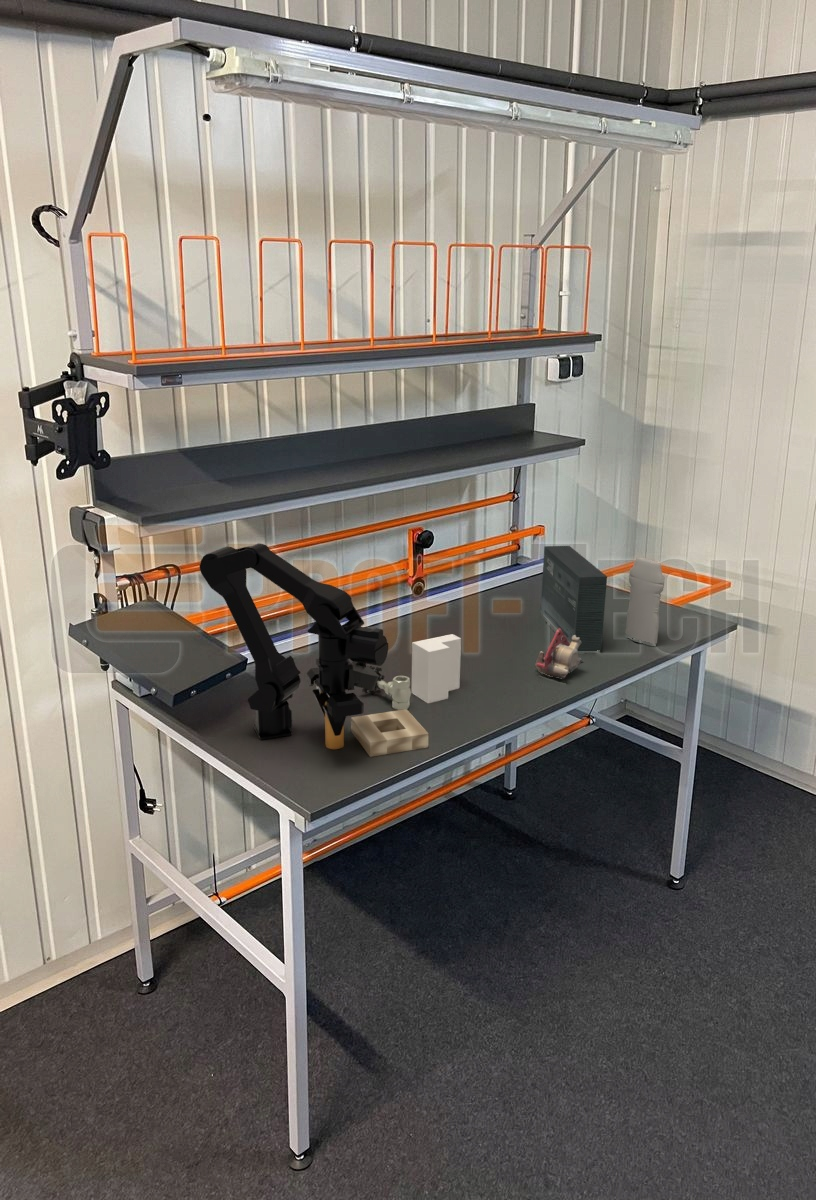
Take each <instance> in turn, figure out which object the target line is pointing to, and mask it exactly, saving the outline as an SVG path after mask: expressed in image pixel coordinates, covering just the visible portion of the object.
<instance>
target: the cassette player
mask: <svg viewBox="0 0 816 1200" xmlns="http://www.w3.org/2000/svg"><path fill="white" fill-rule="evenodd" d="M542 564H543V565H542V580H541V581H542V582H541V597H540V599H541V601H540V610H539V611H540V612H541V613H542V614H543V616H544V617H545V618H546V619H547V621H548V622H549V623H550V624H551V625H552V626H553V627H554V629H555V630H556V631H557V629H559V628H560V629H561V630H562V632H563V633H564V635H565V636H566V638H567V640H568V642H569V643H571V642H572V637H573V635H576V637H577V638H578V637H579V638H580V639H579V640H580V641H581V642H582V643H581V644H580V646H579V648H578V651H597V650H601V651H602V645H603V643H602V642H603V634H604V631H603V630H604V619H605V609H606V606H605V605H606V597H607V584H608V583H607V582H608V581H607V580H608V576H607V575H606V574H605V573H604V572H602V571H601V570H600V569H599V568H597V566H595V565H593V563H591V562H590V561H589V560H588V559H586V558H585V557H584V556H583V555H581V553H579V552H578V551H577V550H575V549H574V548H573V547H571V546H570V545H549V546H547V545H544V546H543V563H542ZM540 612H539V613H540Z"/></svg>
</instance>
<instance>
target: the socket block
mask: <svg viewBox="0 0 816 1200" xmlns="http://www.w3.org/2000/svg"><path fill="white" fill-rule="evenodd" d="M350 731H351V733H352V734H353V736H354V737H355V738H356V740H357V741H358V742H359V744H360V745H361V747H362V748H363V749H364V751H365V752H366V753H367V755H368V756H369V757H370V758H372V757H377V756H385V755H390V754H396V753H397V754H398V753H402V752H409V751H415V750H421V749H426V748H429V732H428V731H427V730H426V729H425V728H424V727H423V726H422V725H421V723H420V722H419V721H418V720H417V719H416V718H415V717H414V716H413V714H412V713H410V711H409V710H408V709H404V710H397V709H396V710H393V711H386V712H380V713H371V714H365V715H358V716H357V715H356V716H352V717H351V716H350Z"/></svg>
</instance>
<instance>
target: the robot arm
mask: <svg viewBox="0 0 816 1200" xmlns="http://www.w3.org/2000/svg"><path fill="white" fill-rule="evenodd" d="M247 569H252V570H254V571H255V572H257V574H260V575H262V576H263V577H264V578H266V579H267V580H269V581H270V582H271V583H273V584H274V585H276V586H277V587H278V588H280V589H281V590H283V591H284V592H286V593H287V594H289V595H290V596H292V597H293V598H295V599H296V600H297V601H299V602H300V603H301V604H302V606H303V608H304V610H305V612H306V614H308V616H310V617H311V618H312V619H313V621H315V622H314V624H313V625H312V626H311V627H310V628H308V629H307V633H308V634H313V635H317V639H318V642H317V643H318V645H317V646H318V658H315V665H316V666H317V667H313V668H312V667H311V668H310V669H309V670H308V671H307V672H306V683H307V685H309V687H314V684H315V685H316V686H315V687H316V688H315V689H312V694H313V696H314V698H315V700H316V702H317V704H318V707H319V708H320V710H321V713H322V714H323V717H324V718H325V713H326V715H327V718H328V720H329V723H330V725H331V728H332V730H333V733H334V735H335V736H338V735H340V734H341V731H342V728H343V725H344V724H345V722H346V718H347V717H351V716H357V715H358V716H359V715H362V714H363V713H365V712H364V711H365V709H364V707H365V703H364V702H363V701H362V699H361V698H360V696H358V695H357V694H355V692H346V690H347V691H353V690H355V687H357V688H362V689H363V688H365V689H368V690H367V691H369V690H370V691H373V690H374V687H375V685H376V682H377V679H378V674H377V673H376V672H375V671H374V670H375V669H374V670H373V669H371V668H370V666H377V667H380V666H383V664H384V663H385V662H386V659H387V657H388V652H389V643H388V640H387V637H386V636H385V635H384V630H383V629H382V628H370V627H363V625H365V621H364V619H363V618H362V616H361V615H360V614H359V612H358V611H357V609H356V608H355V606H354V604H353V602H352V597H351V595H350V594H349V593H348V592H346V591H345V590H342V589H340V588H338V587H336V586H334V585H332V584H327V583H324V582H323V583H322V582H319V581H317V580H315V579H313V578H312V577H310V576H309V575H307V574H306V573H304V572H303V571H301V569H298V568H297V567H296V566H294V565H292V564H291V563H290V562H288V561H287V560H285V559H283V557H281V556H279V555H278V554H276V553H275V552H274V551H272V550H271V549H270V548H269V546H268V545H267V544H265V543H260V542H259V543H256V544H253V545H250V546H243V547H239V548H234V547H232V546H223V547H222V548H219V549H216V550H214V551H210V552H209V553H206V554H205V555H203V556H202V558H201V560H200V563H199V571H200V573H201V576H202V577H203V578H204V580H205V581H206V583H207V584H208V586H209V587H210V588H211V589H212V590H213V591H214V592H216V593H217V594H218V595H220V596H221V597H222V598H223V600H224V602H225V604H226V606H227V608H228V610H229V612H230V613H231V614H230V615H231V616H232V618H233V620H234V622H235V624H236V627H237V629H238V630H239V632H240V634H241V636H242V638H243V641H244V643H245V645H246V647H247V649H248V651H249V653H250V655H251V657H252V660H253V662H254V665H255V666H254V668H255V669H254V681H255V683H256V686H257V689H258V690H256V691H255V692H254V693H253V694H252V695H250V696H249V697H248V699H247V702H248V704H249V708H250V709H251V710H254V712H255V713H254V714H255V718H254V719H255V724H253V729H254V730H255V733H256V735H257V736H258V738H259V739H260V740H267V739H274V738H275V739H276V738H280V737H289V736H291V735H293V734H292V733H293V732H292V730H291V729H292V728H293V716H292V715H293V713H292V712H293V711H292V709H291V707H290V704H289V702H288V700H290V699H292V698H293V696H294V693H295V692H297V691H298V689H299V688H300V686H301V685H300V684H301V683H302V682H301V677H300V674H301V671H300V670H299V669H298V667H297V665H296V663H295V660H294V658H293V656H291V655H289V656H287V657H285V656H283V655H282V654H281V653H280V652H279V651H278V650H277V647H276V646H275V643H274V642H273V640H272V637H271V635H270V633H269V631H268V629H267V627H266V625H265V622H264V621H263V619H262V616H261V615H260V612H259V610H258V608H257V607H256V603H255V602H254V599H253V598H252V595H251V594H250V592H249V589H248V586H247ZM344 620H348V621H346V622H345V623H343V624H341V622H342V621H344ZM349 660H350V661H349ZM367 665H370V666H367ZM326 701H327V705H325V702H326ZM344 726H345V725H344Z"/></svg>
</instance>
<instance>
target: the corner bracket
mask: <svg viewBox="0 0 816 1200" xmlns="http://www.w3.org/2000/svg"><path fill="white" fill-rule="evenodd" d="M461 647H462V638H461V637H459V636H457V635H455V634H453V633H451V634H446V635H442V636H437V637H432V638H428V639H427V638H426V639H422V640H417V641H412V643H411V654H412V655H411V694H412V695H415V696H416V697H417V698H419V699H420V700H422V701H424V702H425V703H426V704H431V703H436V702H439V701H444V700H448V699H449V692H450V691H454V690H458V689H460V683H461V682H460V681H461V678H460V677H461V676H460V675H461V653H462V650H461V649H462V648H461Z"/></svg>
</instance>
